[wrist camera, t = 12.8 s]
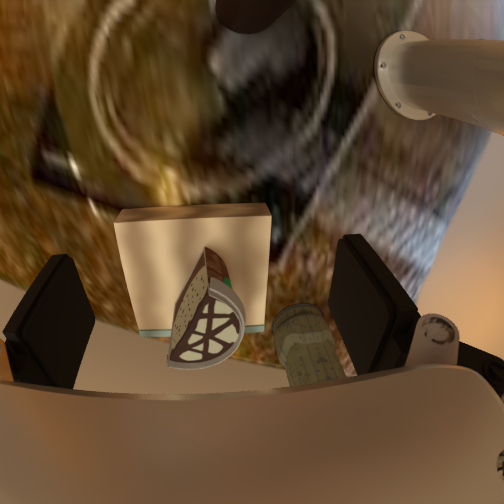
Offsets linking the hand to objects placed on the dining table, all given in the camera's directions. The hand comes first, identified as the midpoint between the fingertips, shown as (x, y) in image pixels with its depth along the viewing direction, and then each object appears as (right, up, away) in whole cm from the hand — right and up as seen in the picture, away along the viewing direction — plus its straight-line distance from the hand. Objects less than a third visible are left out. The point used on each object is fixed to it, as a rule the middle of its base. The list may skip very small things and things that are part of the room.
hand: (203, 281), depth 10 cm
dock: (-6, -1, +31) cm, 31 cm away
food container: (-4, -3, +28) cm, 28 cm away
